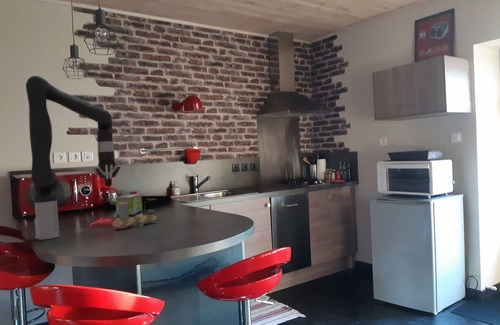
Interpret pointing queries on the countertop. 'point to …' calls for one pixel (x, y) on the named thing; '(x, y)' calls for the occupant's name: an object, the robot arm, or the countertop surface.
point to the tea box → (130, 204)
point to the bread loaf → (136, 220)
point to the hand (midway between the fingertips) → (108, 186)
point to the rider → (123, 211)
